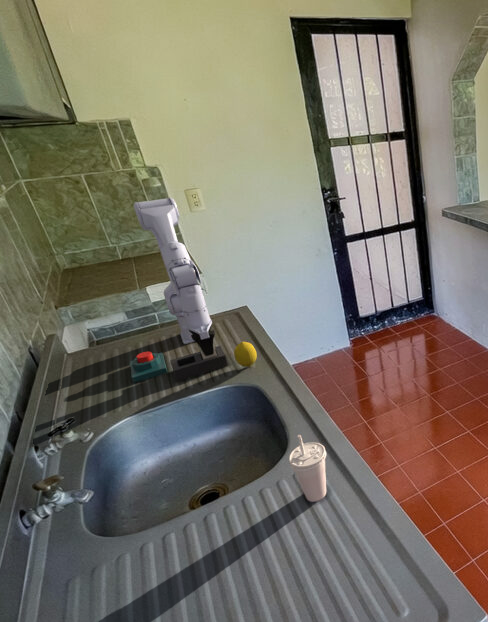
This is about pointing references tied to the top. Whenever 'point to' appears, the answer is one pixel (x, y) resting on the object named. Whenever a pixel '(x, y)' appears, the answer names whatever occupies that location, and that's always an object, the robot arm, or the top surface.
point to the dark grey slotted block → (197, 364)
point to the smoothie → (310, 469)
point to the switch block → (148, 368)
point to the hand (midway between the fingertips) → (208, 351)
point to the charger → (209, 355)
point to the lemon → (245, 354)
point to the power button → (144, 357)
